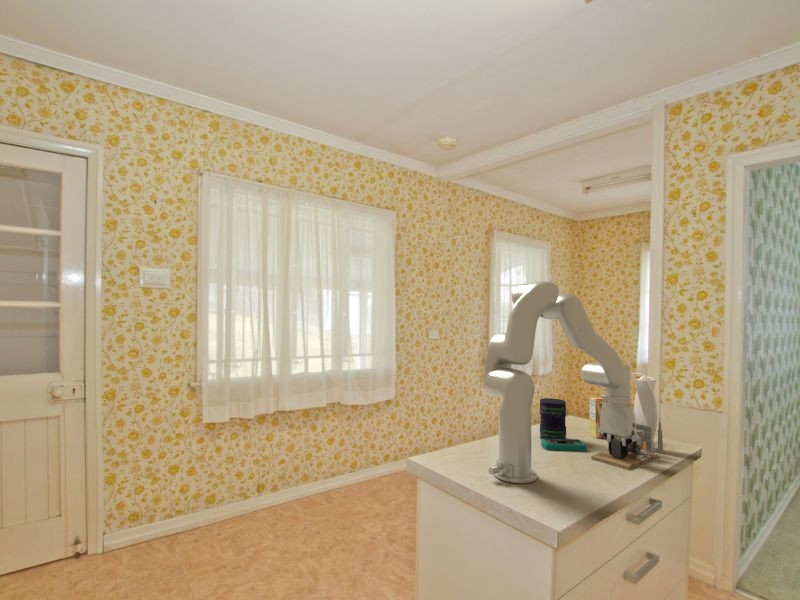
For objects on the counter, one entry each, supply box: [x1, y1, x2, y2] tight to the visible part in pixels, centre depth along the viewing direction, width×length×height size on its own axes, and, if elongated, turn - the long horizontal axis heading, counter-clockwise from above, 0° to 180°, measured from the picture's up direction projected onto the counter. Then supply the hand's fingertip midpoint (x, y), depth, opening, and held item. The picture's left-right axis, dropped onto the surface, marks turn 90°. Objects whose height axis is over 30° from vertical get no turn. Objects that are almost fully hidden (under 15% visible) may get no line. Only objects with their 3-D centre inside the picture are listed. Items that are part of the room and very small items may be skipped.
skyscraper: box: [631, 372, 665, 455], centre depth 151 cm, size 8×8×28 cm
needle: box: [640, 442, 647, 455], centre depth 139 cm, size 1×2×4 cm
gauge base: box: [590, 424, 659, 471], centre depth 141 cm, size 21×12×10 cm, turn 126°
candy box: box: [589, 396, 606, 439], centre depth 167 cm, size 9×4×15 cm, turn 103°
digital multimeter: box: [540, 438, 587, 452], centre depth 152 cm, size 7×15×3 cm, turn 85°
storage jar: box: [539, 397, 567, 440], centre depth 163 cm, size 10×10×15 cm
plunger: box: [611, 437, 639, 458], centre depth 140 cm, size 13×6×6 cm, turn 126°
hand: (618, 455), depth 138 cm, fingers closed on plunger, 3 cm apart
